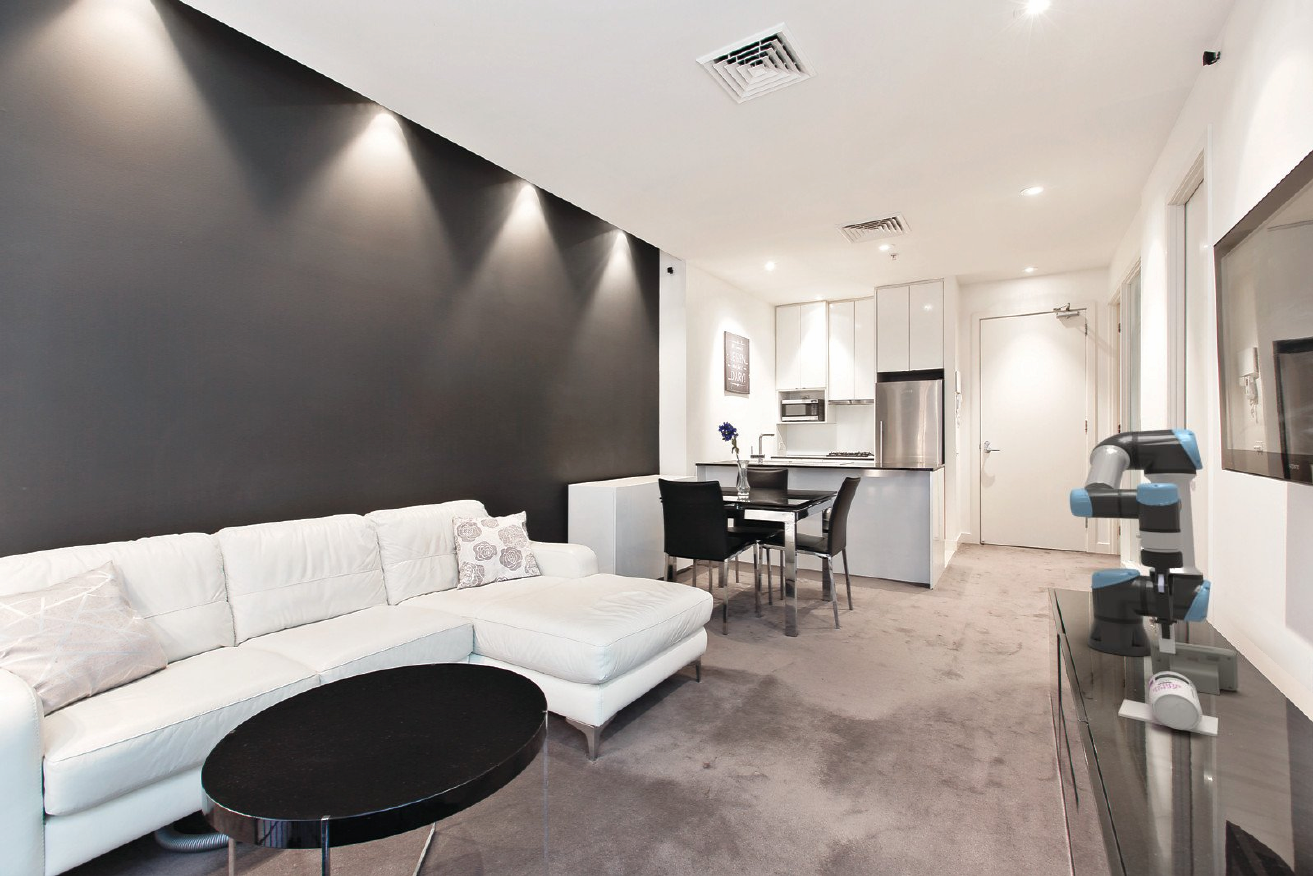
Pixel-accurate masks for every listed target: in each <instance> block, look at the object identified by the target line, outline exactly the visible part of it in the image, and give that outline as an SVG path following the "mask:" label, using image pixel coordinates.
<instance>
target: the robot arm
mask: <svg viewBox="0 0 1313 876" xmlns="http://www.w3.org/2000/svg"><path fill="white" fill-rule="evenodd" d="M1089 455H1090V456H1089V464H1090V469H1089V470H1088V474H1087V478H1086V481H1085V483H1084V485H1083V486H1084V487H1080V488H1074V489H1072V490H1070V493H1069V507H1070V512H1071V514H1072V515H1073V516H1074V517H1076V518H1088V519H1092V518H1093V519H1122V520H1124V519H1125V520H1138V530H1139V531H1138V532H1139V533H1137V534H1136V538H1137V539H1140V540H1139V546H1140V547H1141V548H1142V549H1140V550H1139V551H1140V564H1141V565H1142V566H1144V567H1147V568H1149V570H1148V571H1149V572H1148V573H1149V575H1142V574H1141V572H1140V570H1138V569H1135V568H1108V569H1101V570H1097V571H1095V572H1093V573H1092V575H1091V586H1090V588H1091V593H1092V595H1091V596H1092V611H1093V612H1092V614H1093V622H1092V624H1091V627H1090V629H1089V633H1088V635H1087V644H1088V646H1089V647H1091V648H1092V649H1094V650H1097V651H1100V652H1102V653H1103V652H1104V653H1107V654H1108V653H1109V654H1114V655H1119V656H1127V657H1128V656H1130V657H1144V656H1151V649H1150V642H1151V640H1150V637H1149V636H1148V633H1147V631H1146V629H1145V626H1144V622H1143V621H1144V620H1143V617H1148V618H1149V617H1150V618H1156V619H1154V620H1153V624H1157V629H1158V640H1159V648H1160V652H1166V653H1173V654H1175V652H1176V651H1175V642H1176V640H1175V637H1176V636H1175V624H1178V621H1182V622H1192V623H1203V622H1205V621H1206V620H1207V618H1208V613H1209V611H1208V610H1209V603H1210V602H1209V601H1210V593H1211V592H1210V591H1211V584H1212V582H1211V581H1209V580H1208V579H1204V573H1203V572H1202V571H1200V569H1198V568H1197V567H1196V554H1195V540H1194V539H1195V537H1194V525H1193V511H1192V498H1191V497H1192V494H1191V481H1193V480H1194V479H1195V478H1196V477H1197V471H1201V470H1202V469H1203V468H1204V466H1203V461H1202V459H1201V455H1200V450H1199V446H1198V443H1197V438H1196V434H1195V433H1194V431H1192V430H1191V429H1178V428H1177V429H1174V428H1171V429H1157V430H1155V429H1153V430H1137V431H1136V430H1135V431H1124V432H1120V433H1116V434H1113V435H1112V436H1109V437H1107V438H1105V439H1104V440H1102V441H1100V442H1099V443H1098V444H1097V445H1096V446H1095V447H1094V448H1093V449H1092V451H1091V452H1090V454H1089ZM1125 471H1143V477H1145V478H1146V479H1147V480H1149V482H1145V483H1144V482H1142V483H1139V484H1138V485H1136V488H1121V482H1122V479H1123V474H1124V472H1125Z"/></svg>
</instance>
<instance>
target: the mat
mask: <svg viewBox="0 0 1313 876" xmlns="http://www.w3.org/2000/svg"><path fill="white" fill-rule="evenodd" d="M1117 716H1118V717H1124V718H1127V719H1132V720H1136V721H1141V722H1145V723H1149V724H1150V723H1151V724H1155V725H1160V726H1164V727H1169V726H1167V725H1165V724H1163V723H1162V722H1161V721H1159V720H1158V719H1157V718H1156V717H1155V715H1154V714H1153V712H1152V710H1151V706H1150V703H1144V702H1139V701H1135V700H1131V699H1130V700H1129V699H1126V698H1125V699H1123V701H1122V704H1121V706H1120V708H1119V710H1118V715H1117ZM1186 731H1187V732H1191V733H1197V734H1200V735H1206V736H1210V737H1215V738H1218V732H1219V718H1218V717H1214V716H1209V715H1204V714H1203V715H1202V720H1201V722H1200V723H1199V724H1198V726H1196V727H1194V728H1192V729H1187V730H1186Z"/></svg>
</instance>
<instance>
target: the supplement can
mask: <svg viewBox="0 0 1313 876" xmlns="http://www.w3.org/2000/svg"><path fill="white" fill-rule="evenodd" d="M1148 695H1149V704H1150V706H1151V710H1152V712H1153V714H1154V715H1155V717H1156V718H1157V719H1158V720H1159V721H1161V722H1162V723H1163V724H1165V725H1167V726H1166V727H1168V726H1169V727H1170V728H1171V729H1175V730H1180V731H1187V729H1192V728H1194V727H1196V726H1198V724H1199V723H1200V722H1201V720H1202V715H1204V714H1203V710H1202V707H1201V704H1200V700H1199V696H1198V692H1197V691H1196V688H1195V686H1194V685H1193V684H1192V682H1191V681H1190V680H1189V679H1187V678H1186V677H1185V676H1183V675H1181V674H1178V673H1176V672H1170V671H1164V672H1159V673H1157V674H1155V675H1153V674H1152V677H1151V678H1150V679H1149V682H1148Z"/></svg>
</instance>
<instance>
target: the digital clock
mask: <svg viewBox="0 0 1313 876" xmlns="http://www.w3.org/2000/svg"><path fill="white" fill-rule="evenodd" d="M1150 649H1151V654H1150V659H1151V671H1152V676H1153V675H1155V674H1157V673H1159V672H1164V671H1170V672H1176V673H1178V674H1181V675H1183V676H1185V677H1186V678H1187V679H1189V680H1190V681H1191V682H1192V684H1193V685H1194V686H1195V688H1196V692H1197V691H1199V692H1198V693H1203V692H1204V693H1203V694H1209V695H1214V694H1215V695H1216V696H1221V695H1220V694H1221V692H1220V690H1225V691H1230V692H1231V691H1233V692H1234V691H1235V692H1236V691H1237V690H1238V688H1239V672H1238V671H1239V669H1238V656H1237V655H1238V654H1237V652H1236V651H1235V650H1232V649H1228V648H1221V647H1215V646H1207V645H1199V644H1194V643H1193V644H1191V643H1185V642H1177V641H1175V651H1176V652H1175V654H1173V653H1166V652H1160V648H1159V639H1154V640H1150Z"/></svg>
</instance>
